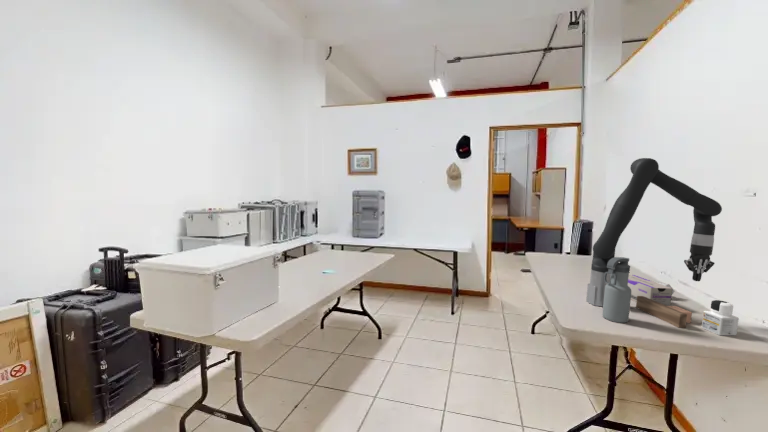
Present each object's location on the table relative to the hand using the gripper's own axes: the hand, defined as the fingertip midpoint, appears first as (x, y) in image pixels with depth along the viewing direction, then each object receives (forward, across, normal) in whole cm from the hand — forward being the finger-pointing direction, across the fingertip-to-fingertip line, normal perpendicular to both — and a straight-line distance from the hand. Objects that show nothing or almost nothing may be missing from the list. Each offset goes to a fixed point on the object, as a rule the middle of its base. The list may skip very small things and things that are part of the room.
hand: (696, 280), depth 158 cm
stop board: (+18, -16, 0) cm, 24 cm away
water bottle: (+18, -40, -4) cm, 44 cm away
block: (+18, -10, -2) cm, 21 cm away
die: (+18, +12, +29) cm, 37 cm away
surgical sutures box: (+18, -5, +24) cm, 30 cm away
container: (+18, -3, -16) cm, 24 cm away
